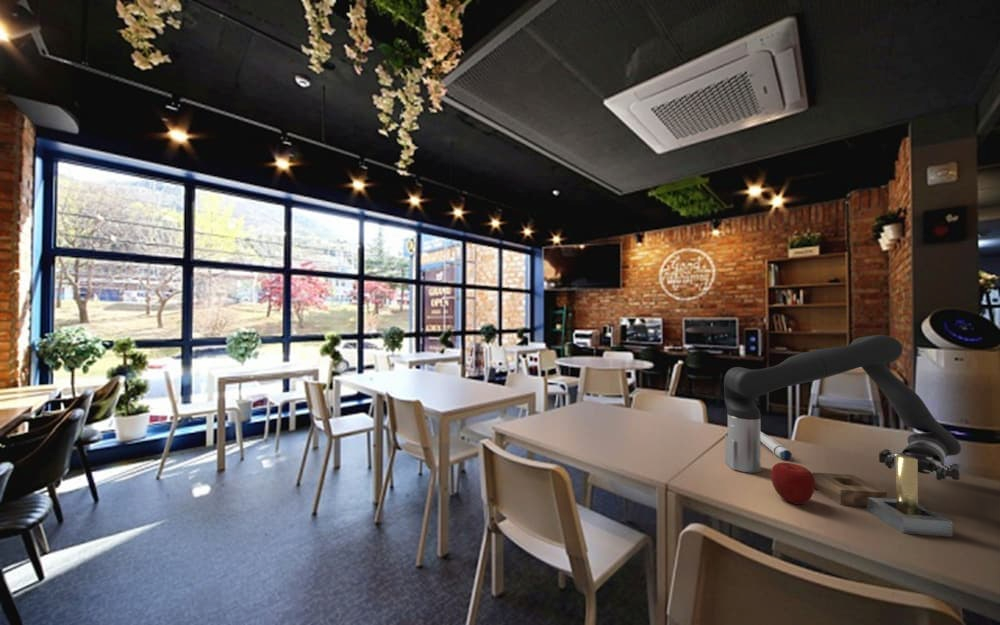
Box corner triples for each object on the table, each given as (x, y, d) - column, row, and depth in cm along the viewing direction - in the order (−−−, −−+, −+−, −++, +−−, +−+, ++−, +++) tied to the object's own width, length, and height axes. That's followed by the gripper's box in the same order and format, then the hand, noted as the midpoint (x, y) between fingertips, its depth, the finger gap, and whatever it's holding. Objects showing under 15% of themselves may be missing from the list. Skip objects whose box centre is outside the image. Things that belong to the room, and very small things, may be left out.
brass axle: (905, 526, 90) (905, 460, 90) (892, 518, 93) (891, 454, 93) (922, 527, 89) (922, 460, 89) (908, 519, 93) (908, 455, 93)
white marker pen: (778, 449, 130) (741, 419, 155) (777, 467, 131) (740, 435, 156) (794, 450, 130) (755, 420, 154) (793, 468, 131) (754, 435, 155)
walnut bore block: (840, 504, 100) (840, 489, 100) (812, 485, 111) (812, 472, 111) (886, 507, 98) (886, 492, 98) (853, 488, 109) (853, 474, 109)
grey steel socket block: (903, 533, 87) (902, 518, 87) (867, 510, 97) (867, 497, 97) (952, 536, 85) (952, 521, 86) (911, 513, 95) (911, 499, 95)
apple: (824, 511, 97) (823, 472, 97) (783, 508, 98) (783, 470, 98) (800, 493, 106) (800, 458, 106) (763, 491, 107) (763, 456, 108)
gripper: (887, 436, 111) (874, 447, 102) (964, 450, 99) (956, 464, 90) (888, 461, 111) (874, 474, 102) (964, 478, 99) (957, 495, 90)
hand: (913, 470), depth 96 cm, fingers open, 8 cm apart
